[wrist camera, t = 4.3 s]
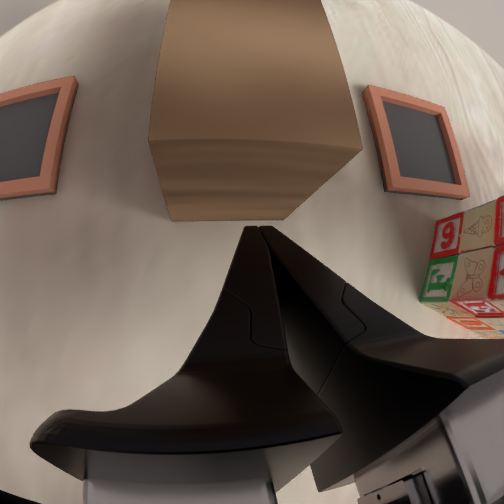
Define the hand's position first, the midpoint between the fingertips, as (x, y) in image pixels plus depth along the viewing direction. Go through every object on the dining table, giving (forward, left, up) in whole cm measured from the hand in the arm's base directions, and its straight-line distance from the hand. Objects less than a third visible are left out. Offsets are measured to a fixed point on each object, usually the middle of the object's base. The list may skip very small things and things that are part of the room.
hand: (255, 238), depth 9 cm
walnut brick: (+5, -8, -7) cm, 12 cm away
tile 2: (-7, -15, -7) cm, 18 cm away
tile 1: (+16, +1, -7) cm, 18 cm away
